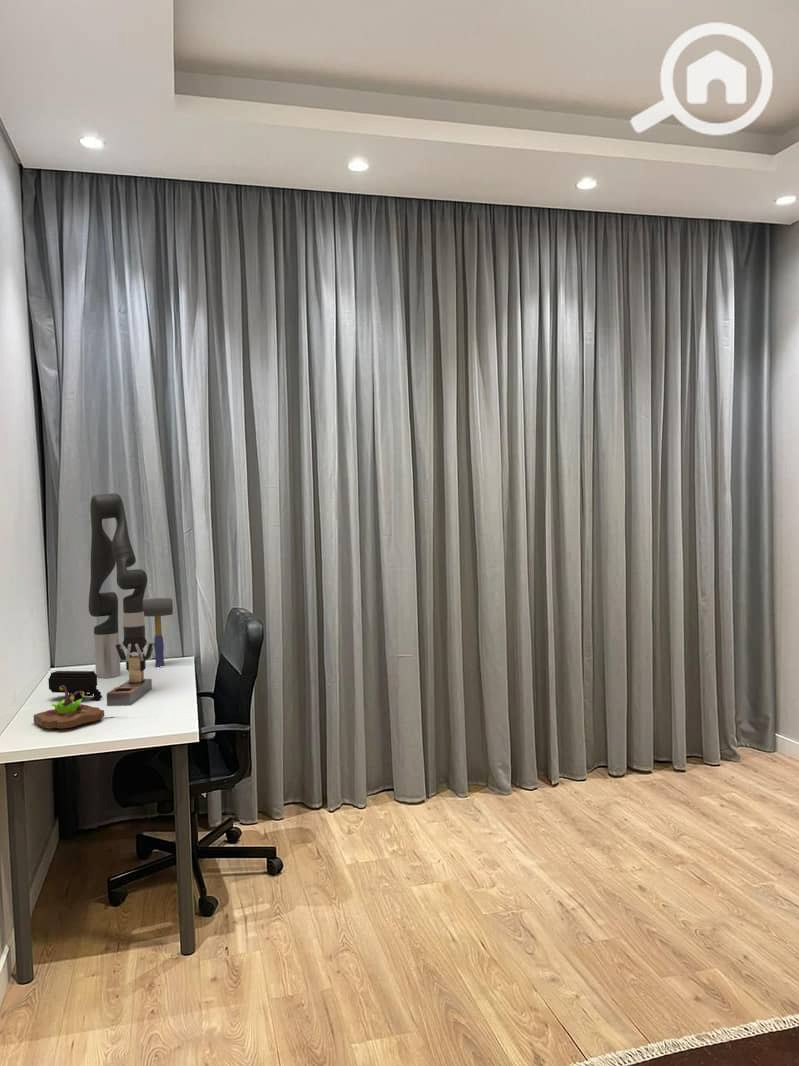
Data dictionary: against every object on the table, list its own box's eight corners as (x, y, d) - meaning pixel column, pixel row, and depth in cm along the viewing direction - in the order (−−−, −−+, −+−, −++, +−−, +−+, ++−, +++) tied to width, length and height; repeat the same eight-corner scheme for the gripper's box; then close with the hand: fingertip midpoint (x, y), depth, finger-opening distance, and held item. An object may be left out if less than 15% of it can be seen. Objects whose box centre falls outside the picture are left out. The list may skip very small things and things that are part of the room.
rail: (130, 690, 317) (130, 678, 317) (152, 689, 317) (151, 677, 316) (107, 705, 293) (106, 693, 293) (130, 705, 293) (129, 692, 292)
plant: (79, 709, 290) (78, 677, 290) (112, 717, 278) (111, 683, 278) (22, 722, 275) (21, 688, 274) (55, 731, 262) (53, 695, 262)
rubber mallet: (176, 667, 358) (173, 596, 356) (175, 671, 350) (171, 598, 349) (145, 670, 355) (142, 598, 354) (143, 673, 348) (140, 600, 347)
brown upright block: (133, 680, 314) (131, 655, 313) (143, 679, 314) (142, 655, 313) (129, 682, 310) (128, 657, 309) (140, 682, 310) (139, 657, 309)
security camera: (95, 702, 298) (93, 674, 298) (47, 702, 302) (46, 673, 301) (105, 698, 305) (104, 670, 304) (59, 697, 308) (57, 670, 308)
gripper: (156, 622, 314) (158, 668, 315) (118, 623, 315) (120, 669, 316) (150, 625, 307) (152, 672, 308) (111, 626, 307) (113, 673, 308)
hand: (136, 670), depth 312 cm, fingers closed on brown upright block, 4 cm apart
